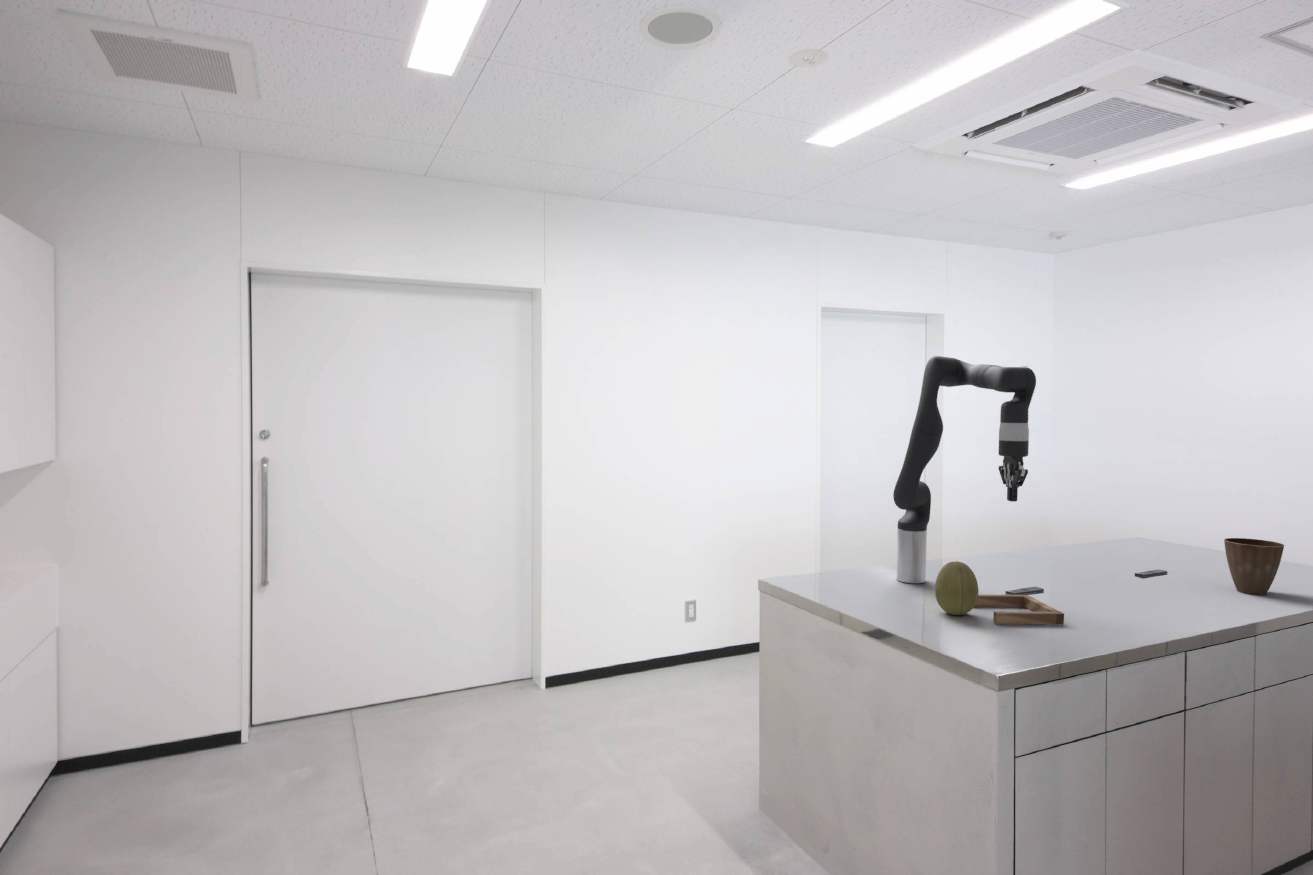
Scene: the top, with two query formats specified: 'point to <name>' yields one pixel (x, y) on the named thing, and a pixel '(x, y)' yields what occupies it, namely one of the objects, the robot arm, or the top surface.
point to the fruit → (956, 588)
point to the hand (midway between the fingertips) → (1012, 500)
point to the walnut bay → (1037, 616)
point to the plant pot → (1253, 563)
